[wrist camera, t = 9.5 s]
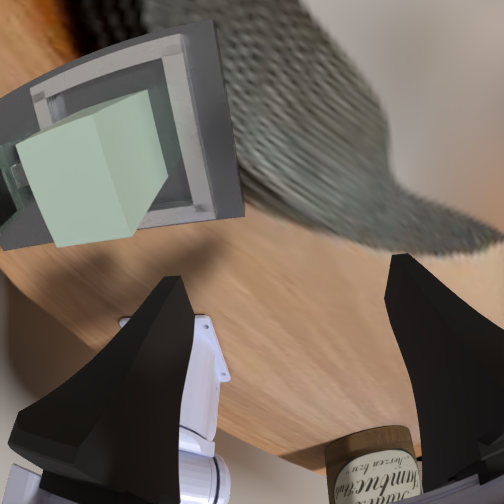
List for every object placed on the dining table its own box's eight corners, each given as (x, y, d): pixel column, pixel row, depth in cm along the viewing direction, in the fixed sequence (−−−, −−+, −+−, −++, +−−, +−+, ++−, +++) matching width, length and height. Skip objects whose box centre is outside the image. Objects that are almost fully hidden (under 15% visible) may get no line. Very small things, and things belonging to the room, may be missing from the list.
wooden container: (417, 416, 38) (442, 543, 20) (401, 445, 47) (416, 544, 29) (323, 436, 40) (332, 570, 23) (325, 460, 49) (331, 563, 31)
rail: (215, 20, 13) (185, 0, 7) (245, 208, 19) (239, 288, 13) (-37, 125, 14) (-101, 164, 9) (9, 244, 21) (-36, 300, 15)
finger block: (147, 89, 14) (92, 114, 9) (168, 176, 17) (132, 237, 12) (76, 111, 14) (9, 147, 9) (100, 189, 17) (51, 248, 12)
